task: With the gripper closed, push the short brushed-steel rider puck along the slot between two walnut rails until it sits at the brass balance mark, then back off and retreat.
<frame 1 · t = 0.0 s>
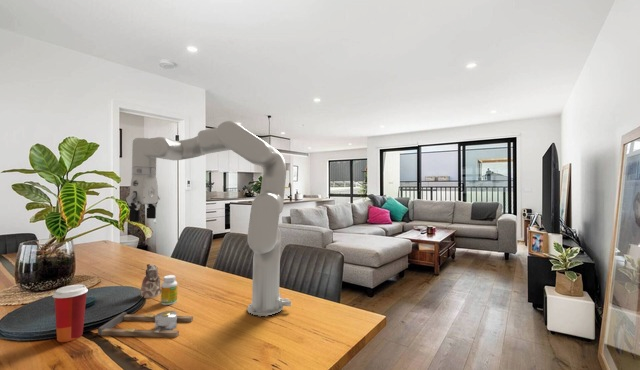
hand: (143, 219, 106), 31 cm above the table, fingers open, 9 cm apart
paper cup: (69, 337, 85), on the table
supplement bottle: (169, 303, 110), on the table
beam track: (149, 327, 91), on the table
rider: (165, 327, 91), resting in beam track
figurine: (150, 295, 117), on the table
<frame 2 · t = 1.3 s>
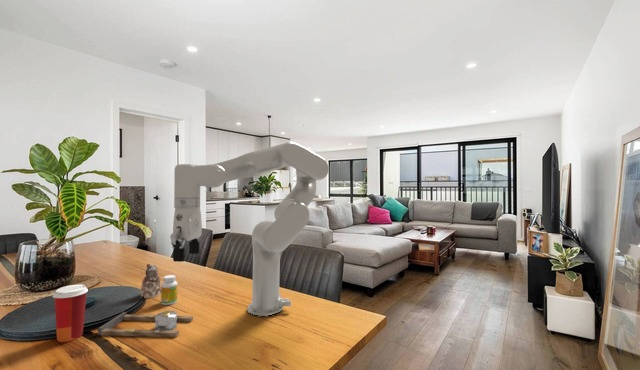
hand: (187, 257, 93), 21 cm above the table, fingers open, 9 cm apart
nothing on the table moved.
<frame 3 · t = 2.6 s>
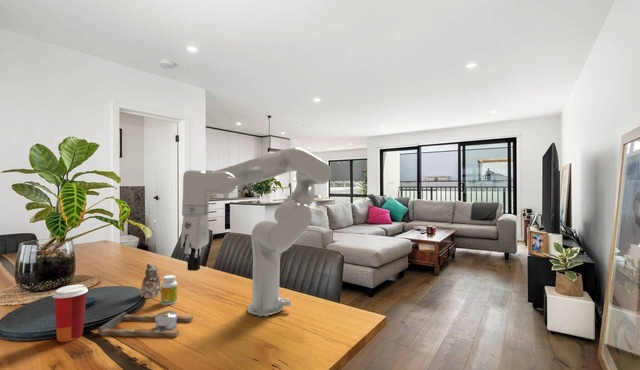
hand: (193, 269, 91), 18 cm above the table, fingers closed
nothing on the table moved.
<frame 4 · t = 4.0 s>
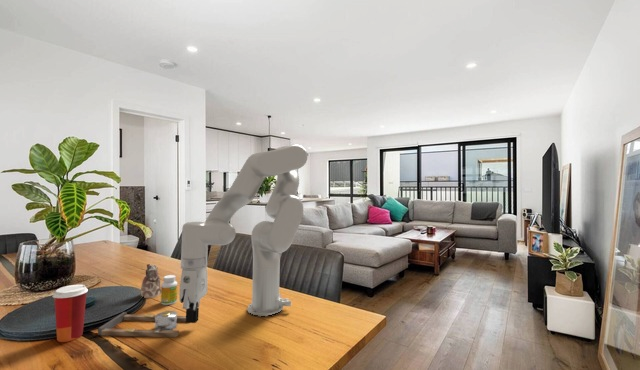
hand: (192, 321, 91), 2 cm above the table, fingers closed
nothing on the table moved.
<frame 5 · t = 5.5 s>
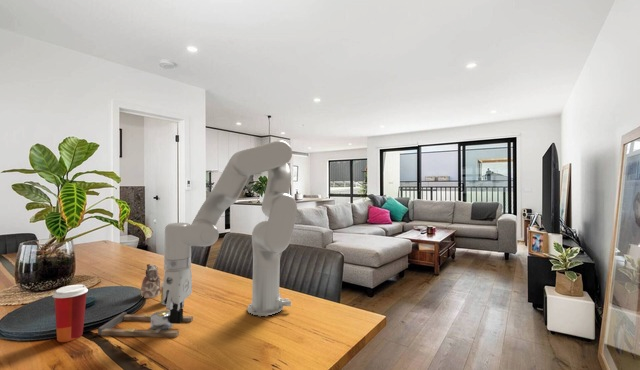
hand: (176, 322, 91), 2 cm above the table, fingers closed
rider: (161, 327, 91), resting in beam track, touching gripper
everything else where it was.
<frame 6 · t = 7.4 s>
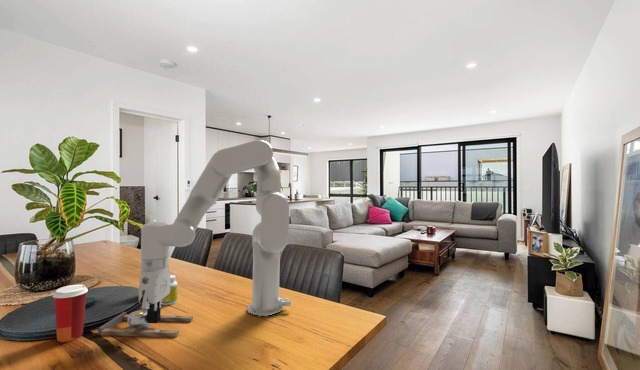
hand: (153, 321, 91), 2 cm above the table, fingers closed
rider: (139, 326, 91), resting in beam track, touching gripper
everything else where it was.
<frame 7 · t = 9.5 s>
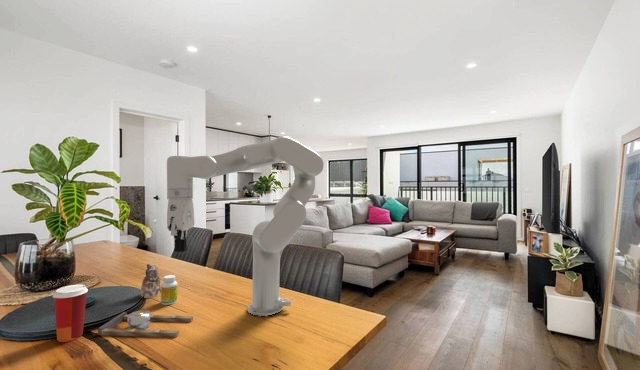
hand: (180, 251, 95), 23 cm above the table, fingers closed
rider: (138, 327, 91), resting in beam track
everything else where it was.
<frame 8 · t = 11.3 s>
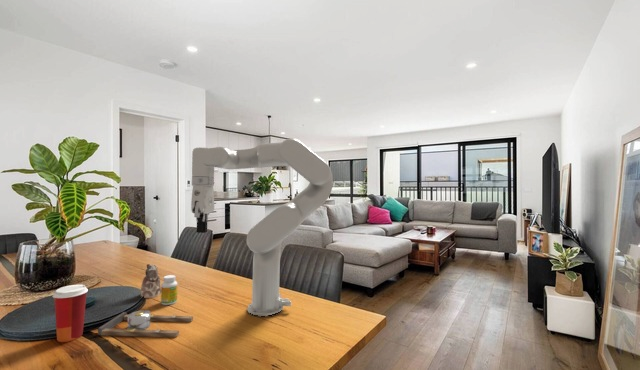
hand: (201, 232, 107), 27 cm above the table, fingers closed
nothing on the table moved.
at the end: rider 0.4 cm from the target spot, resting in beam track; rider tilted 0° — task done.
